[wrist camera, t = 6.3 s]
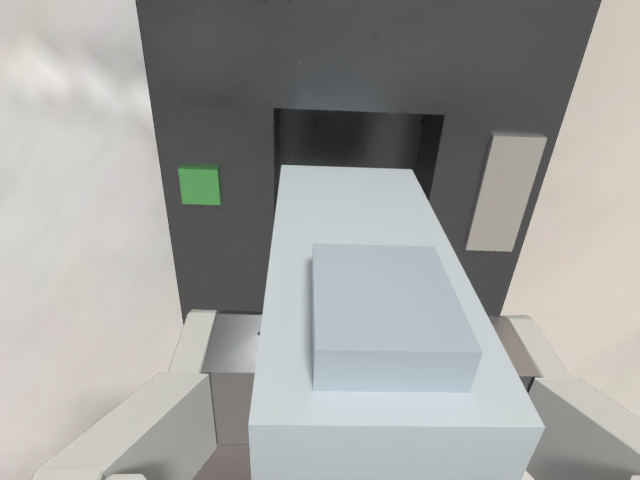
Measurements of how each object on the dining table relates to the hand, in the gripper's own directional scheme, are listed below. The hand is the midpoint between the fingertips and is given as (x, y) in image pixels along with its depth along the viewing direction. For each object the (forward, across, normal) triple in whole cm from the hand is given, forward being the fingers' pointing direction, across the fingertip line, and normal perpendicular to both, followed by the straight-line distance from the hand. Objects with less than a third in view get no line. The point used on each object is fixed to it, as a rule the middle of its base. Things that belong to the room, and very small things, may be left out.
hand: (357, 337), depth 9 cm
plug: (+5, 0, 0) cm, 5 cm away
